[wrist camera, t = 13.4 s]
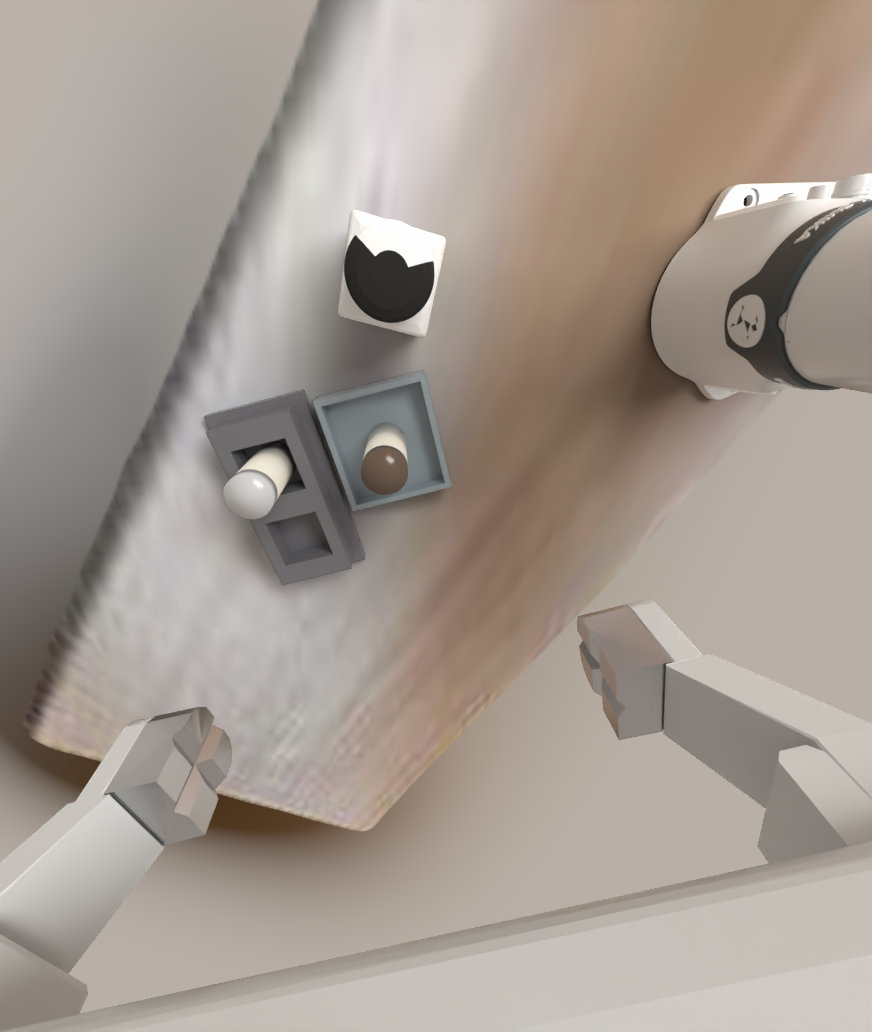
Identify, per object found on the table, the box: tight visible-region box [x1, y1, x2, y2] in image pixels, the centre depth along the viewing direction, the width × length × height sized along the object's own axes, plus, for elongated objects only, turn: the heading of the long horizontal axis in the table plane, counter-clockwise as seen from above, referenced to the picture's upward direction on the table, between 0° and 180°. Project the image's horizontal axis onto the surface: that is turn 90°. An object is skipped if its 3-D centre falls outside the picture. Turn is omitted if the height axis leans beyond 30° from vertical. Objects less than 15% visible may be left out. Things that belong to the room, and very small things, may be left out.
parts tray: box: [313, 370, 452, 511], centre depth 43 cm, size 11×12×2 cm
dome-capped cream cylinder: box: [223, 442, 297, 519], centre depth 39 cm, size 4×4×10 cm
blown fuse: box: [361, 423, 408, 495], centre depth 40 cm, size 4×4×10 cm
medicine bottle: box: [338, 210, 446, 338], centre depth 33 cm, size 7×7×12 cm
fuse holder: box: [204, 390, 365, 585], centre depth 44 cm, size 20×10×4 cm, turn 13°
